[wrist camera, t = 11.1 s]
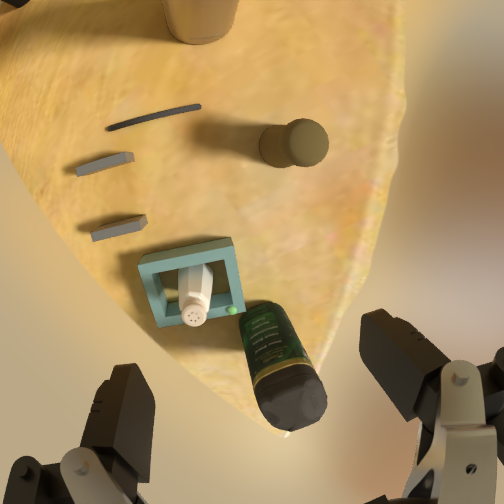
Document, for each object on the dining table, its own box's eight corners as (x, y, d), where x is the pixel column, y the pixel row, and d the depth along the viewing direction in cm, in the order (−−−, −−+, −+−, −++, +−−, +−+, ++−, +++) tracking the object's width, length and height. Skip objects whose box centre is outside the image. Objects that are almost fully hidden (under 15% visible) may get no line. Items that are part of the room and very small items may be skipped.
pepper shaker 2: (269, 174, 37) (294, 180, 27) (251, 133, 35) (270, 123, 24) (308, 158, 37) (345, 160, 27) (292, 119, 35) (324, 105, 25)
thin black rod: (109, 132, 31) (107, 131, 31) (108, 127, 31) (106, 126, 30) (201, 109, 33) (201, 108, 32) (200, 103, 32) (200, 102, 32)
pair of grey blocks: (87, 166, 32) (75, 167, 28) (133, 152, 33) (124, 151, 29) (102, 233, 35) (92, 242, 32) (147, 223, 36) (141, 230, 32)
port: (143, 255, 37) (136, 266, 33) (230, 237, 39) (234, 246, 35) (161, 313, 41) (158, 329, 37) (242, 298, 42) (246, 312, 38)
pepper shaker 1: (171, 265, 39) (161, 303, 28) (207, 254, 39) (209, 288, 29) (184, 298, 40) (180, 342, 30) (219, 287, 41) (225, 329, 31)
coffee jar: (230, 314, 43) (249, 405, 25) (277, 293, 43) (322, 374, 25) (253, 356, 46) (278, 443, 29) (296, 338, 46) (338, 419, 29)
